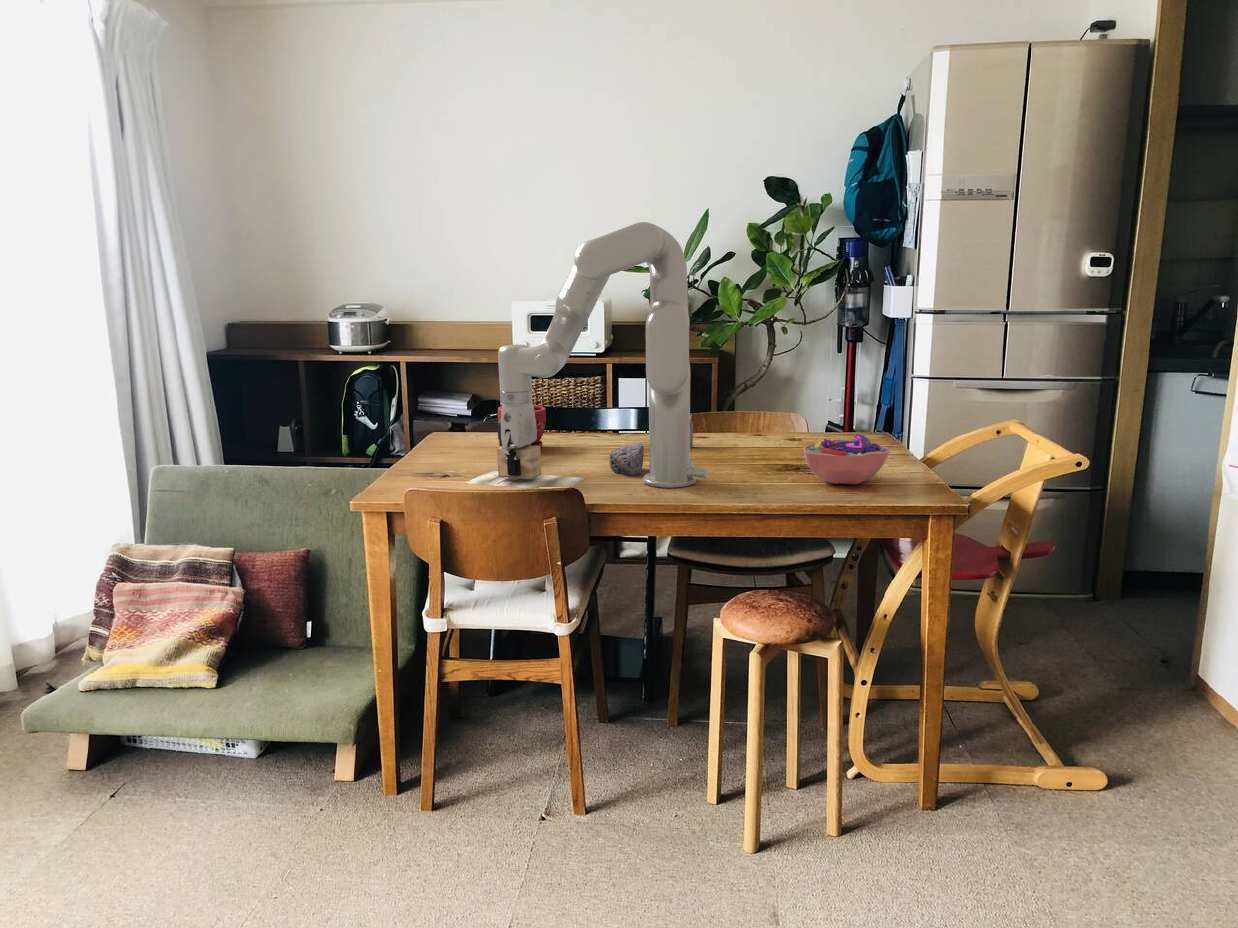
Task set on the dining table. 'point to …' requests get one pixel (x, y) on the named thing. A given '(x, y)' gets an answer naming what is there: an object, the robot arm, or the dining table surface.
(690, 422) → the ruin model on sheet
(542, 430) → the plant pot
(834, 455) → the cell model
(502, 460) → the block
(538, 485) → the board
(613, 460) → the pumice stone
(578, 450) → the dining table surface
